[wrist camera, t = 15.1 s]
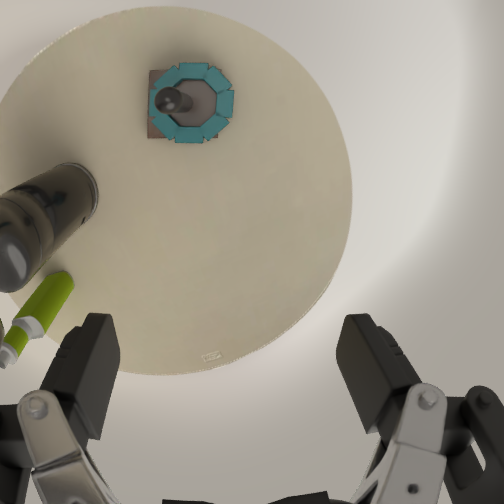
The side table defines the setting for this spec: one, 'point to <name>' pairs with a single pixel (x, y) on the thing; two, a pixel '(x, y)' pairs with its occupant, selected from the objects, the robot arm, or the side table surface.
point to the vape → (36, 315)
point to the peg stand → (182, 102)
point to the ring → (212, 124)
